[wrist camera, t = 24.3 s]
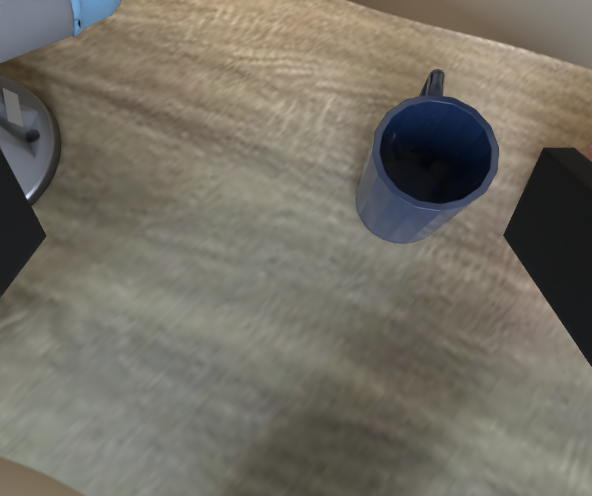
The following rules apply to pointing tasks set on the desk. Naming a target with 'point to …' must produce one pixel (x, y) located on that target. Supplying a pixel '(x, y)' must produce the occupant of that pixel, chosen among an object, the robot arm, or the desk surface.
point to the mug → (425, 165)
